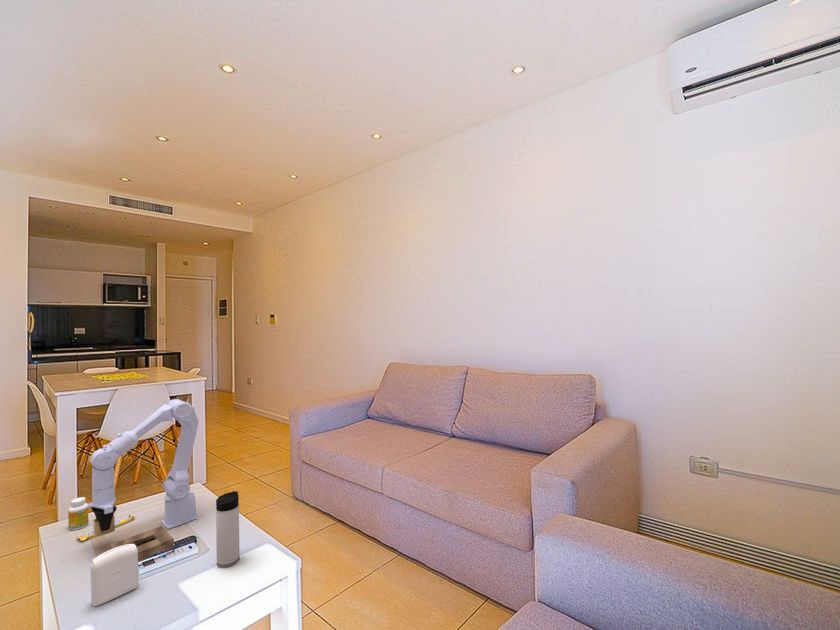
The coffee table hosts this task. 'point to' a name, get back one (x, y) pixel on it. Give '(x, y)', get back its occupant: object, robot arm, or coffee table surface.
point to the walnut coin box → (148, 542)
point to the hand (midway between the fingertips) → (104, 528)
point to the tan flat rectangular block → (97, 528)
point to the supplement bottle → (78, 514)
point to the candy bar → (117, 524)
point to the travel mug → (227, 529)
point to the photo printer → (114, 573)
